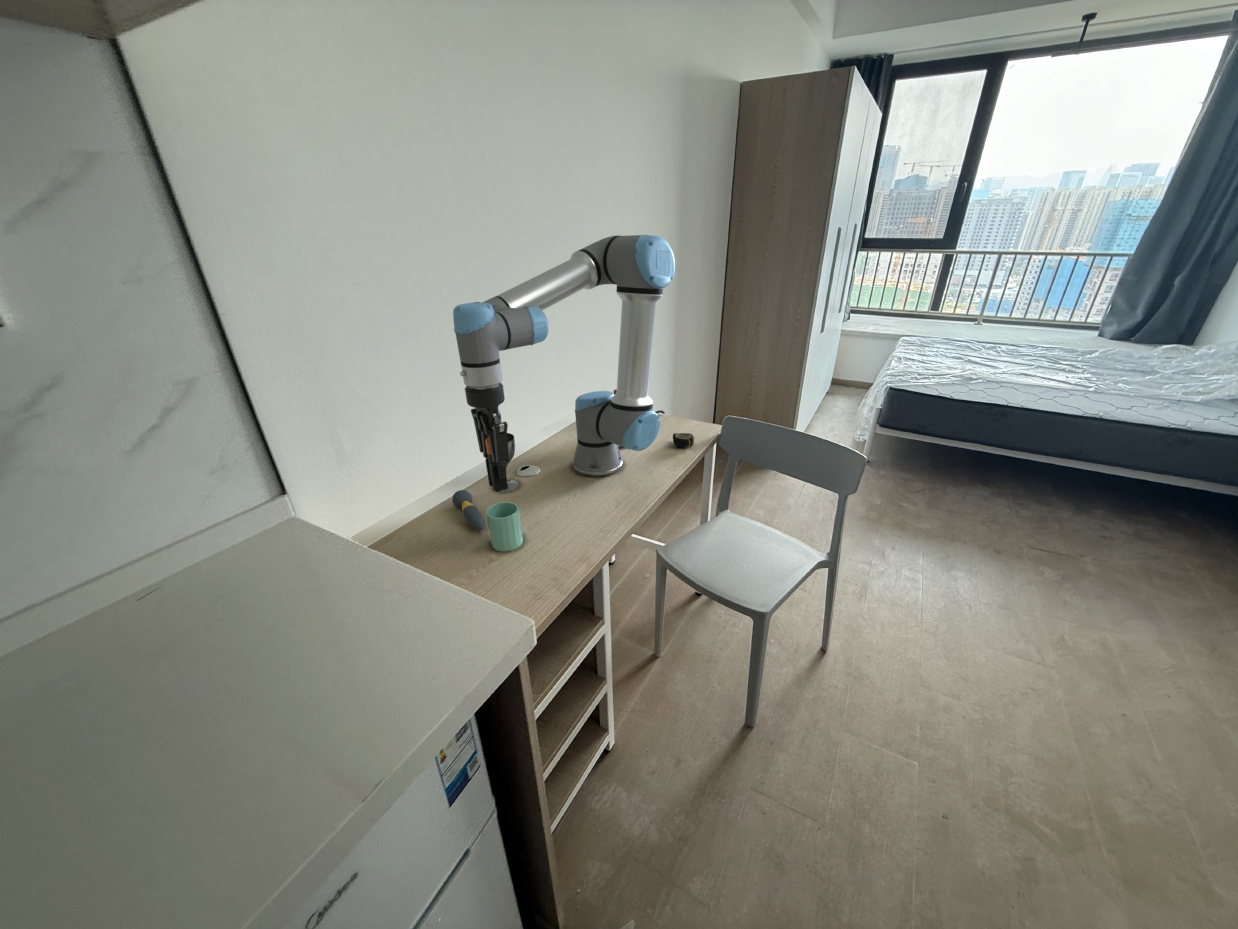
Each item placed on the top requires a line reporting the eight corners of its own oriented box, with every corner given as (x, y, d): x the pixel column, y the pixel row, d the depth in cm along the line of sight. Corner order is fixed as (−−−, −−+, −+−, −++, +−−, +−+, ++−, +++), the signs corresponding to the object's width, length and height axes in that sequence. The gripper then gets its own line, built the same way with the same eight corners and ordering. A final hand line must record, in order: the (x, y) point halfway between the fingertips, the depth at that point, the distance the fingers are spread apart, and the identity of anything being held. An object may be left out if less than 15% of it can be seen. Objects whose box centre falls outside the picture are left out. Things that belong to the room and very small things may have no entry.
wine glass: (525, 482, 141) (519, 435, 135) (509, 495, 135) (502, 445, 128) (503, 477, 144) (496, 431, 138) (486, 489, 138) (478, 441, 131)
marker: (501, 484, 110) (494, 435, 104) (507, 489, 108) (500, 439, 102) (490, 488, 108) (483, 438, 103) (495, 493, 106) (488, 442, 101)
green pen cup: (514, 530, 119) (510, 498, 115) (528, 543, 114) (524, 511, 110) (486, 541, 115) (481, 508, 111) (499, 555, 110) (494, 522, 106)
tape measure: (692, 441, 165) (693, 431, 163) (694, 450, 159) (694, 439, 157) (672, 441, 165) (672, 431, 164) (673, 449, 159) (673, 439, 158)
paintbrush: (497, 528, 120) (494, 511, 118) (477, 535, 117) (474, 518, 115) (466, 497, 134) (463, 482, 132) (448, 503, 131) (444, 487, 129)
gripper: (451, 379, 101) (469, 479, 111) (481, 397, 90) (497, 506, 100) (485, 373, 105) (499, 470, 115) (518, 389, 94) (530, 495, 104)
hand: (498, 486), depth 108 cm, fingers closed on marker, 2 cm apart
